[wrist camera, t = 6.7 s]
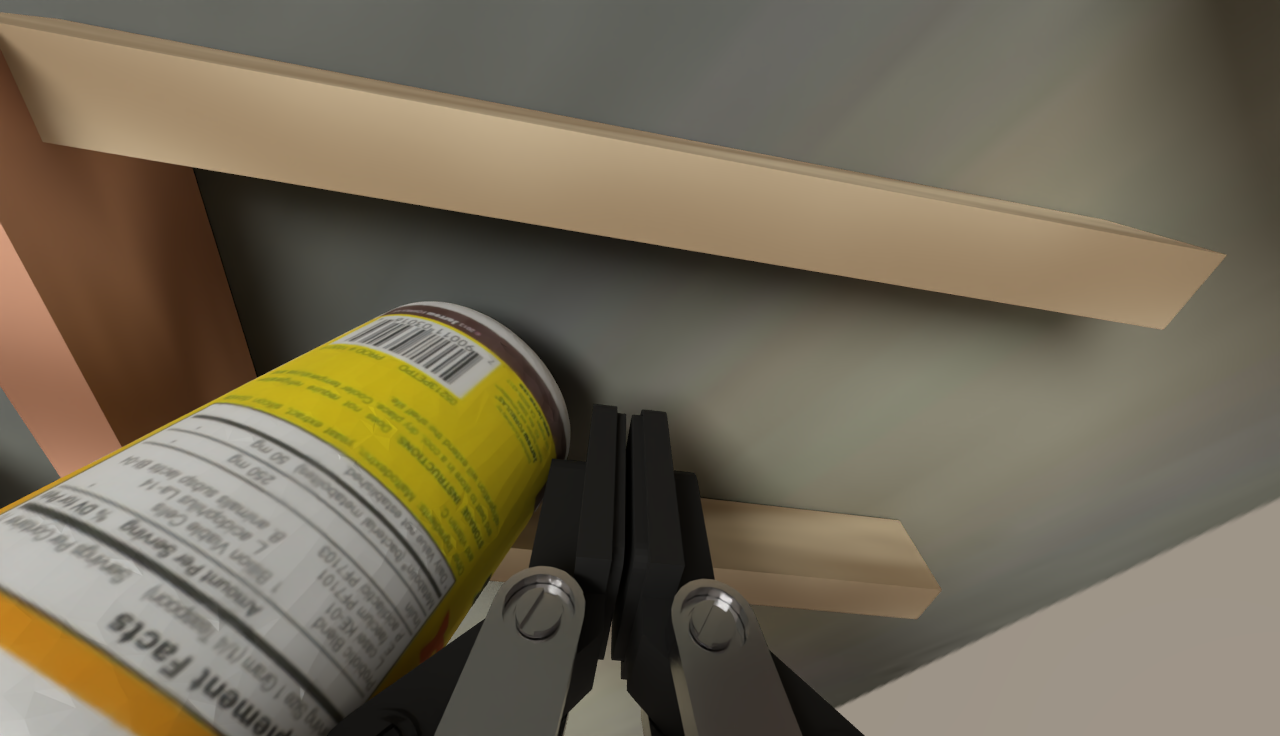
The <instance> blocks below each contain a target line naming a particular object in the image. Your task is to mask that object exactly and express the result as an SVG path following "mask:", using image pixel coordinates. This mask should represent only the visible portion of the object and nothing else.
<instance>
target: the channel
mask: <svg viewBox="0 0 1280 736" xmlns="http://www.w3.org/2000/svg"><path fill="white" fill-rule="evenodd" d="M192 167H195V168H201V169H207V170H213V171H219V172H225V173H231V174H237V175H243V176H249V177H255V178H261V179H267V180H272V181H278V182H284V183H290V184H296V185H302V186H308V187H314V188H320V189H326V190H332V191H338V192H344V193H350V194H356V195H362V196H368V197H374V198H380V199H386V200H392V201H398V202H404V203H410V204H416V205H422V206H428V207H434V208H440V209H446V210H452V211H458V212H464V213H469V214H475V215H481V216H487V217H493V218H499V219H505V220H511V221H517V222H523V223H529V224H535V225H541V226H547V227H553V228H559V229H565V230H571V231H577V232H583V233H589V234H595V235H601V236H607V237H613V238H619V239H625V240H631V241H637V242H643V243H649V244H655V245H661V246H666V247H672V248H678V249H684V250H690V251H696V252H702V253H708V254H714V255H720V256H726V257H732V258H738V259H744V260H750V261H756V262H762V263H768V264H774V265H780V266H786V267H792V268H798V269H804V270H810V271H816V272H822V273H828V274H834V275H840V276H846V277H852V278H858V279H863V280H869V281H875V282H881V283H887V284H893V285H899V286H905V287H911V288H917V289H923V290H929V291H935V292H941V293H947V294H953V295H959V296H965V297H971V298H977V299H983V300H989V301H995V302H1001V303H1007V304H1013V305H1019V306H1025V307H1031V308H1037V309H1043V310H1049V311H1055V312H1060V313H1066V314H1072V315H1078V316H1084V317H1090V318H1096V319H1102V320H1108V321H1114V322H1120V323H1126V324H1132V325H1138V326H1144V327H1150V328H1156V329H1162V330H1164V328H1165V327H1166V326H1167V325H1168V324H1169V323H1170V321H1171V320H1172V319H1173V318H1174V317H1175V315H1176V314H1177V313H1178V312H1179V311H1180V310H1181V308H1182V307H1183V306H1184V305H1185V304H1186V303H1187V301H1188V300H1189V299H1190V298H1191V297H1192V296H1193V294H1194V293H1195V292H1196V291H1197V290H1198V288H1199V287H1200V286H1201V285H1202V284H1203V283H1204V281H1205V280H1206V279H1207V278H1208V277H1209V276H1210V274H1211V273H1212V272H1213V271H1214V270H1215V268H1216V267H1217V266H1218V265H1219V264H1220V263H1221V261H1222V260H1223V259H1224V258H1225V257H1226V256H1227V255H1225V254H1222V253H1218V252H1215V251H1211V250H1208V249H1205V248H1201V247H1198V246H1194V245H1191V244H1187V243H1184V242H1180V241H1177V240H1173V239H1170V238H1166V237H1163V236H1159V235H1156V234H1152V233H1149V232H1145V231H1142V230H1138V229H1135V228H1131V227H1128V226H1124V225H1121V224H1117V223H1114V222H1111V221H1107V220H1103V219H1098V218H1093V217H1088V216H1082V215H1077V214H1072V213H1067V212H1062V211H1056V210H1051V209H1046V208H1041V207H1035V206H1030V205H1025V204H1020V203H1015V202H1009V201H1004V200H999V199H994V198H989V197H983V196H978V195H973V194H968V193H963V192H957V191H952V190H947V189H942V188H936V187H931V186H926V185H921V184H916V183H910V182H905V181H900V180H895V179H890V178H884V177H879V176H874V175H869V174H864V173H858V172H853V171H848V170H843V169H837V168H832V167H827V166H822V165H817V164H811V163H806V162H801V161H796V160H791V159H785V158H780V157H775V156H770V155H765V154H759V153H754V152H749V151H744V150H739V149H733V148H728V147H723V146H718V145H712V144H707V143H702V142H697V141H692V140H686V139H681V138H676V137H671V136H666V135H660V134H655V133H650V132H645V131H640V130H634V129H629V128H624V127H619V126H613V125H608V124H603V123H598V122H593V121H587V120H582V119H577V118H572V117H567V116H561V115H556V114H551V113H546V112H541V111H535V110H530V109H525V108H520V107H514V106H509V105H504V104H499V103H494V102H488V101H483V100H478V99H473V98H468V97H462V96H457V95H452V94H447V93H442V92H436V91H431V90H426V89H421V88H416V87H410V86H405V85H400V84H395V83H389V82H384V81H379V80H374V79H369V78H363V77H358V76H353V75H348V74H343V73H337V72H332V71H327V70H322V69H317V68H311V67H306V66H301V65H296V64H290V63H285V62H280V61H275V60H270V59H264V58H259V57H254V56H249V55H244V54H238V53H233V52H228V51H223V50H218V49H212V48H207V47H202V46H197V45H191V44H186V43H181V42H176V41H171V40H165V39H160V38H155V37H150V36H145V35H139V34H134V33H129V32H124V31H119V30H113V29H108V28H103V27H98V26H92V25H87V24H82V23H77V22H72V21H66V20H61V19H53V18H44V17H36V16H27V15H18V14H9V13H0V386H1V388H2V389H3V391H4V392H5V394H6V395H7V397H8V398H9V400H10V401H11V403H12V404H13V406H14V407H15V409H16V410H17V412H18V413H19V415H20V416H21V418H22V419H23V421H24V423H25V424H26V426H27V427H28V429H29V430H30V432H31V433H32V435H33V436H34V438H35V439H36V441H37V442H38V444H39V445H40V447H41V448H42V450H43V451H44V453H45V454H46V456H47V457H48V459H49V460H50V462H51V463H52V465H53V466H54V468H55V470H56V471H57V473H58V474H59V476H60V477H61V478H62V477H64V476H66V475H68V474H70V473H72V472H74V471H76V470H78V469H80V468H82V467H84V466H86V465H88V464H90V463H92V462H94V461H96V460H98V459H100V458H102V457H104V456H106V455H108V454H110V453H112V452H114V451H116V450H118V449H120V448H121V447H123V446H125V445H127V444H129V443H131V442H133V441H135V440H137V439H139V438H141V437H143V436H145V435H147V434H149V433H151V432H152V431H154V430H156V429H158V428H160V427H162V426H164V425H166V424H168V423H170V422H172V421H174V420H176V419H178V418H180V417H182V416H184V415H186V414H188V413H190V412H192V411H193V410H195V409H197V408H199V407H201V406H203V405H205V404H207V403H209V402H211V401H213V400H215V399H217V398H219V397H221V396H223V395H225V394H226V393H228V392H230V391H232V390H234V389H236V388H238V387H240V386H242V385H244V384H246V383H248V382H250V381H252V380H254V379H256V378H257V376H256V372H255V369H254V366H253V363H252V360H251V356H250V353H249V350H248V347H247V343H246V340H245V337H244V334H243V330H242V327H241V324H240V321H239V317H238V314H237V311H236V308H235V304H234V301H233V298H232V295H231V291H230V288H229V285H228V282H227V279H226V275H225V272H224V269H223V266H222V262H221V259H220V256H219V253H218V249H217V246H216V243H215V240H214V236H213V233H212V230H211V227H210V223H209V220H208V217H207V214H206V210H205V207H204V204H203V201H202V197H201V194H200V191H199V188H198V185H197V181H196V178H195V175H194V172H193V168H192ZM542 502H543V501H542ZM701 504H702V510H703V515H704V521H705V526H706V532H707V538H708V543H709V549H710V554H711V560H712V566H713V571H714V577H715V580H717V581H719V582H722V583H725V584H727V585H729V586H730V587H732V588H733V589H735V590H736V591H738V592H739V593H740V594H741V595H742V596H743V597H744V598H745V599H746V601H747V602H748V603H749V604H753V605H764V606H776V607H787V608H798V609H809V610H820V611H831V612H842V613H853V614H864V615H875V616H886V617H897V618H908V619H918V618H919V616H920V615H921V614H922V613H923V612H924V610H925V609H926V608H927V607H928V606H929V605H930V603H931V602H932V601H933V600H934V599H935V598H936V596H937V595H938V594H939V593H940V592H941V588H940V586H939V585H938V583H937V581H936V580H935V578H934V576H933V575H932V573H931V572H930V570H929V568H928V567H927V565H926V563H925V562H924V560H923V558H922V557H921V555H920V553H919V552H918V550H917V549H916V547H915V545H914V544H913V542H912V540H911V539H910V537H909V535H908V534H907V532H906V531H905V529H904V527H903V526H902V524H901V522H900V521H899V520H892V519H883V518H874V517H865V516H856V515H847V514H838V513H830V512H821V511H812V510H803V509H794V508H785V507H776V506H768V505H759V504H750V503H741V502H732V501H723V500H714V499H706V498H701ZM541 507H542V503H541V504H540V506H539V507H538V508H537V510H536V511H535V513H534V514H533V516H532V517H531V519H530V520H529V522H528V523H527V525H526V527H525V528H524V529H523V531H522V532H521V534H520V535H519V537H518V538H517V540H516V541H515V543H514V544H513V546H512V547H511V549H510V550H509V552H508V553H507V555H506V556H505V557H504V559H503V560H502V562H501V563H500V565H499V566H498V568H497V569H496V571H495V572H494V574H493V576H492V577H491V579H490V580H489V581H499V582H506V581H507V580H508V579H509V578H510V577H511V576H513V575H514V574H516V573H518V572H520V571H522V570H524V569H527V568H529V563H530V558H531V554H532V549H533V544H534V540H535V535H536V530H537V526H538V521H539V516H540V511H541Z"/></svg>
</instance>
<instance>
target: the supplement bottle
mask: <svg viewBox="0 0 1280 736" xmlns="http://www.w3.org/2000/svg"><path fill="white" fill-rule="evenodd" d="M569 447H570V421H569V416H568V411H567V408H566V404H565V401H564V399H563V396H562V394H561V391H560V389H559V387H558V385H557V383H556V381H555V380H554V378H553V376H552V375H551V373H550V371H549V370H548V369H547V367H546V366H545V364H544V363H543V362H542V360H541V359H540V358H539V357H538V356H537V355H536V353H535V352H534V351H533V350H532V349H531V348H530V347H529V346H528V345H527V344H526V343H525V342H524V341H523V340H522V339H521V338H520V337H518V336H517V335H516V334H515V333H514V332H512V331H511V330H510V329H508V328H507V327H505V326H504V325H503V324H501V323H500V322H498V321H496V320H494V319H492V318H491V317H489V316H487V315H485V314H482V313H480V312H478V311H476V310H473V309H470V308H467V307H464V306H460V305H457V304H453V303H446V302H433V301H426V302H417V303H411V304H407V305H403V306H400V307H398V308H395V309H393V310H390V311H388V312H386V313H384V314H382V315H380V316H378V317H376V318H374V319H372V320H370V321H368V322H366V323H364V324H362V325H360V326H358V327H356V328H354V329H352V330H350V331H348V332H346V333H344V334H342V335H340V336H338V337H336V338H335V339H333V340H331V341H329V342H327V343H325V344H323V345H321V346H319V347H317V348H315V349H313V350H311V351H309V352H307V353H305V354H303V355H301V356H299V357H297V358H295V359H293V360H291V361H289V362H287V363H285V364H283V365H281V366H279V367H277V368H275V369H274V370H272V371H270V372H268V373H266V374H264V375H262V376H260V377H258V378H256V379H254V380H252V381H250V382H248V383H246V384H244V385H242V386H240V387H238V388H236V389H234V390H232V391H230V392H228V393H226V394H225V395H223V396H221V397H219V398H217V399H215V400H213V401H211V402H209V403H207V404H205V405H203V406H201V407H199V408H197V409H195V410H193V411H192V412H190V413H188V414H186V415H184V416H182V417H180V418H178V419H176V420H174V421H172V422H170V423H168V424H166V425H164V426H162V427H160V428H158V429H156V430H154V431H152V432H151V433H149V434H147V435H145V436H143V437H141V438H139V439H137V440H135V441H133V442H131V443H129V444H127V445H125V446H123V447H121V448H120V449H118V450H116V451H114V452H112V453H110V454H108V455H106V456H104V457H102V458H100V459H98V460H96V461H94V462H92V463H90V464H88V465H86V466H84V467H82V468H80V469H78V470H76V471H74V472H72V473H70V474H68V475H66V476H64V477H62V478H60V479H58V480H56V481H54V482H53V483H51V484H49V485H47V486H45V487H43V488H41V489H39V490H37V491H35V492H33V493H31V494H29V495H27V496H25V497H23V498H21V499H19V500H17V501H15V502H13V503H11V504H9V505H7V506H5V507H3V508H2V509H0V736H327V735H328V733H329V732H330V731H331V729H333V728H334V727H335V726H336V725H337V724H338V723H339V722H341V721H342V720H343V719H344V718H345V717H346V716H348V715H349V714H350V713H351V712H353V711H354V710H356V709H357V708H359V707H360V706H361V705H363V704H364V703H366V702H367V701H368V700H370V699H371V698H373V697H374V696H376V695H377V694H378V693H380V692H381V691H383V690H384V689H386V688H387V687H388V686H390V685H391V684H393V683H394V682H396V681H397V680H398V679H400V678H401V677H403V676H404V675H405V674H407V673H408V672H410V671H411V670H413V669H414V668H415V667H417V666H418V665H420V664H421V663H423V662H424V661H425V660H427V659H428V658H430V657H431V656H432V655H434V654H435V653H437V652H438V651H440V650H441V649H442V648H444V647H445V646H446V645H447V643H448V642H449V640H450V639H451V637H452V636H453V634H454V633H455V631H456V630H457V628H458V627H459V625H460V624H461V622H462V620H463V619H464V617H465V616H466V614H467V613H468V611H469V610H470V608H471V607H472V606H473V604H474V603H475V601H476V599H477V598H478V597H479V595H480V594H481V592H482V591H483V589H484V588H485V586H486V585H487V583H488V582H489V580H490V579H491V577H492V576H493V574H494V572H495V571H496V569H497V568H498V566H499V565H500V563H501V562H502V560H503V559H504V557H505V556H506V555H507V553H508V552H509V550H510V549H511V547H512V546H513V544H514V543H515V541H516V540H517V538H518V537H519V535H520V534H521V532H522V531H523V529H524V528H525V527H526V525H527V523H528V522H529V520H530V519H531V517H532V516H533V514H534V513H535V511H536V510H537V508H538V507H539V506H540V504H541V503H542V501H543V497H544V493H545V488H546V483H547V478H548V474H549V469H550V465H551V461H552V459H562V460H566V459H567V457H568V453H569Z"/></svg>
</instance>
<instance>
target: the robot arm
mask: <svg viewBox="0 0 1280 736" xmlns="http://www.w3.org/2000/svg"><path fill="white" fill-rule="evenodd" d="M611 622H612V642H611V659H612V660H618V661H621V679H626V680H627V691H628V693H629V694H630V695H631V696H632V697H633V698H634V700H635V701H636V702H637V703H638V704H639V705H640V707H641V721H642V728H643V735H644V736H864V735H863V734H862V733H861V732H860V731H859V730H858V729H856V728H855V727H854V726H853V725H852V724H851V723H850V722H849V721H848V720H846V719H845V718H844V717H843V716H842V715H841V714H840V713H839V712H838V711H837V710H835V709H834V708H833V707H832V706H831V705H830V704H829V703H828V702H826V701H825V700H824V699H823V698H822V697H821V696H820V695H819V694H818V693H816V692H815V691H814V690H813V689H812V688H811V687H810V686H809V685H807V684H806V683H805V682H804V681H803V680H802V679H801V678H800V677H799V676H797V675H796V674H795V673H794V672H793V671H792V670H791V669H790V668H788V667H787V666H786V665H785V664H784V663H783V662H782V661H781V660H780V659H778V658H777V657H776V656H775V655H774V654H773V653H772V652H771V651H770V650H769V649H768V646H767V644H766V641H765V639H764V636H763V633H762V631H761V628H760V626H759V623H758V621H757V618H756V616H755V614H754V612H753V610H752V608H751V606H750V605H749V603H748V602H747V601H746V599H745V598H744V597H743V596H742V595H741V594H740V593H739V592H738V591H736V590H735V589H733V588H732V587H730V586H729V585H727V584H725V583H722V582H719V581H717V580H715V577H714V571H713V566H712V560H711V554H710V549H709V543H708V538H707V532H706V526H705V521H704V515H703V510H702V504H701V498H700V493H699V487H698V482H697V478H696V475H695V473H691V472H681V471H673V462H672V454H671V446H670V437H669V429H668V421H667V414H666V412H661V411H652V410H642V411H641V415H632V418H631V423H630V429H629V434H628V440H627V446H626V414H622V413H617V407H616V406H607V405H599V404H594V405H593V413H592V421H591V429H590V437H589V445H588V453H587V461H586V462H582V461H572V460H562V459H552V461H551V465H550V469H549V474H548V478H547V483H546V488H545V493H544V497H543V502H542V507H541V511H540V516H539V521H538V526H537V530H536V535H535V540H534V544H533V549H532V554H531V558H530V563H529V568H527V569H524V570H522V571H520V572H518V573H516V574H514V575H513V576H511V577H510V578H509V579H508V580H507V581H506V582H505V583H504V584H502V586H501V588H500V589H499V591H498V592H497V594H496V596H495V598H494V600H493V602H492V604H491V607H490V609H489V611H488V614H487V616H486V618H485V619H484V620H482V621H481V622H479V623H478V624H477V625H475V626H474V627H472V628H471V629H469V630H468V631H467V632H465V633H464V634H462V635H461V636H460V637H458V638H457V639H455V640H454V641H452V642H451V643H450V644H448V645H447V646H445V647H444V648H442V649H441V650H440V651H438V652H437V653H435V654H434V655H432V656H431V657H430V658H428V659H427V660H425V661H424V662H423V663H421V664H420V665H418V666H417V667H415V668H414V669H413V670H411V671H410V672H408V673H407V674H405V675H404V676H403V677H401V678H400V679H398V680H397V681H396V682H394V683H393V684H391V685H390V686H388V687H387V688H386V689H384V690H383V691H381V692H380V693H378V694H377V695H376V696H374V697H373V698H371V699H370V700H368V701H367V702H366V703H364V704H363V705H361V706H360V707H359V708H357V709H356V710H354V711H353V712H351V713H350V714H349V715H348V716H346V717H345V718H344V719H343V720H342V721H341V722H339V723H338V724H337V725H336V726H335V727H334V728H333V729H331V731H330V732H329V733H328V735H327V736H564V733H565V729H566V725H567V720H568V716H569V711H570V710H571V709H572V708H573V707H574V706H575V705H576V704H577V703H578V702H579V701H580V700H581V699H582V698H583V697H584V696H585V695H586V694H587V693H589V692H590V691H591V690H592V687H593V682H594V677H595V672H596V667H597V662H598V659H600V660H604V656H605V651H606V646H607V641H608V636H609V632H610V627H611Z"/></svg>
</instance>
